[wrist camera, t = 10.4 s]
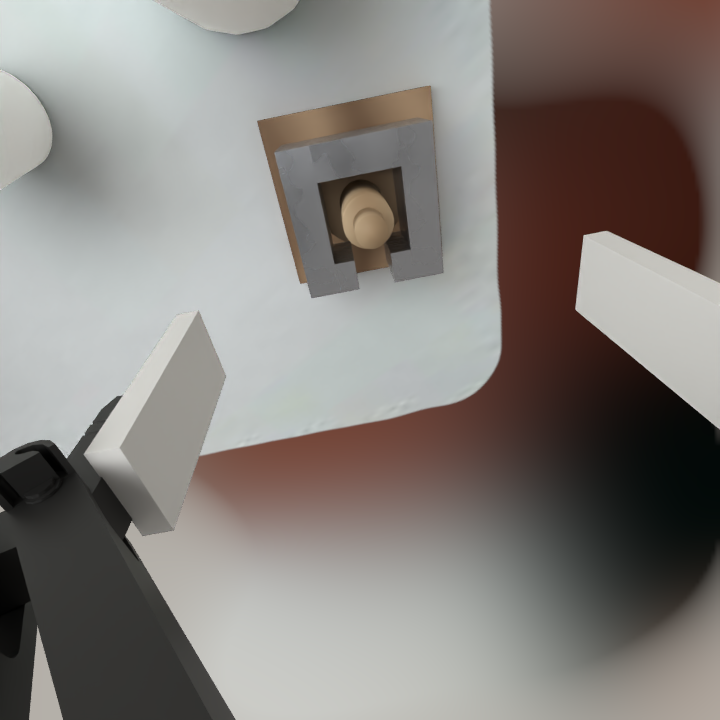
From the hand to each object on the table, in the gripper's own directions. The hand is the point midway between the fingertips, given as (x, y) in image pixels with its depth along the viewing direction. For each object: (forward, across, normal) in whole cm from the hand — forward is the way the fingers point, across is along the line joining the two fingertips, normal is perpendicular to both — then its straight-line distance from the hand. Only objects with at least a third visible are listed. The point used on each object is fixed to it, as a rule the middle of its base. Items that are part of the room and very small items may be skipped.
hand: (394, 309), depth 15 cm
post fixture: (+22, 0, 0) cm, 22 cm away
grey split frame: (+18, 0, 0) cm, 18 cm away
